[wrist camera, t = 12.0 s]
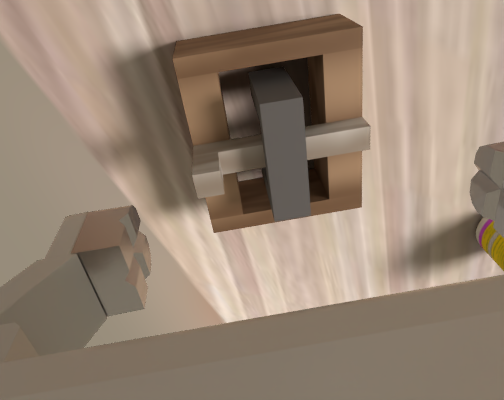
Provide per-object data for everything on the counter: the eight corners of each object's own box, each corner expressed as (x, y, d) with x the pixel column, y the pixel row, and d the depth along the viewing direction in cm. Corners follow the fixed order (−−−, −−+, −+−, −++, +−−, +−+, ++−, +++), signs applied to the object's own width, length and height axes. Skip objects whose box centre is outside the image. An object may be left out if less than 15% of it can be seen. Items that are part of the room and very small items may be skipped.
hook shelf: (176, 41, 35) (167, 78, 26) (339, 13, 35) (388, 41, 26) (212, 198, 44) (215, 269, 35) (343, 176, 44) (381, 239, 35)
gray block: (248, 72, 35) (259, 104, 28) (283, 66, 35) (302, 97, 29) (262, 174, 41) (274, 221, 34) (292, 169, 41) (311, 215, 34)
